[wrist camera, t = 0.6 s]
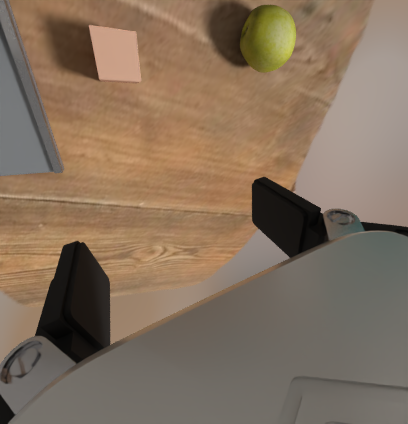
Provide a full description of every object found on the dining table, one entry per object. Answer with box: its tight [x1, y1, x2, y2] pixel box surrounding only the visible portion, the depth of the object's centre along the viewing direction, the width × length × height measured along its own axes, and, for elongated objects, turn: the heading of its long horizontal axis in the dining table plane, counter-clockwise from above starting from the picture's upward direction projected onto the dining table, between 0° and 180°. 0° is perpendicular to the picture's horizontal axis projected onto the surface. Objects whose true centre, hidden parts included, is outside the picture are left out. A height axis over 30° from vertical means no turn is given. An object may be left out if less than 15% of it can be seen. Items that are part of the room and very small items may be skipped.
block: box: [89, 25, 141, 83], centre depth 26 cm, size 5×5×6 cm
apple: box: [240, 5, 296, 72], centre depth 31 cm, size 8×9×8 cm
